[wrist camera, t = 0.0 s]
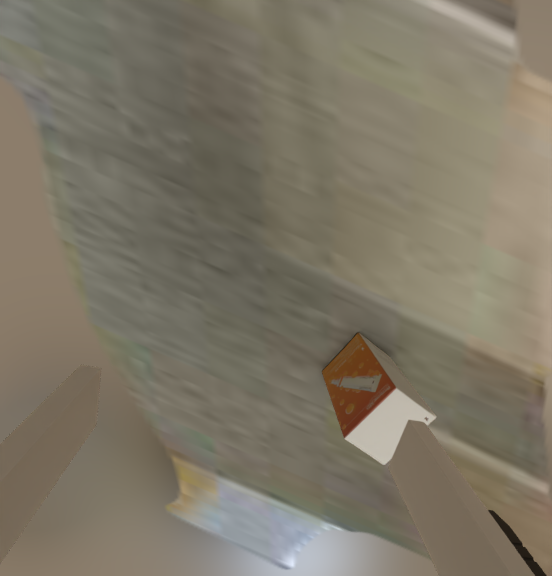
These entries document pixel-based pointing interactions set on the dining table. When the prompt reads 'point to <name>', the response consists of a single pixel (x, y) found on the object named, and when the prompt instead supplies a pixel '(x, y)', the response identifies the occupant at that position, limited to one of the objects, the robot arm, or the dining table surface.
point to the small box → (372, 398)
